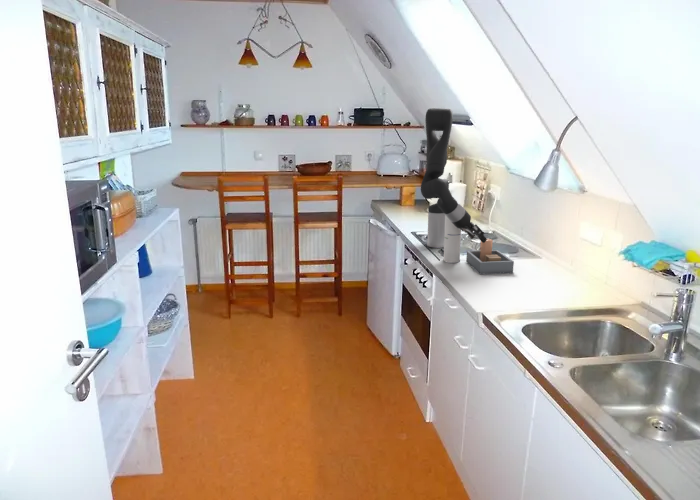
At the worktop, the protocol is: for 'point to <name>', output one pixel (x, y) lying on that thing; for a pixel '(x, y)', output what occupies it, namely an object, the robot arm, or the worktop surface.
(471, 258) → the grey tote
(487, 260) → the walnut cube
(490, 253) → the terracotta capsule
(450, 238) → the cylindrical container
